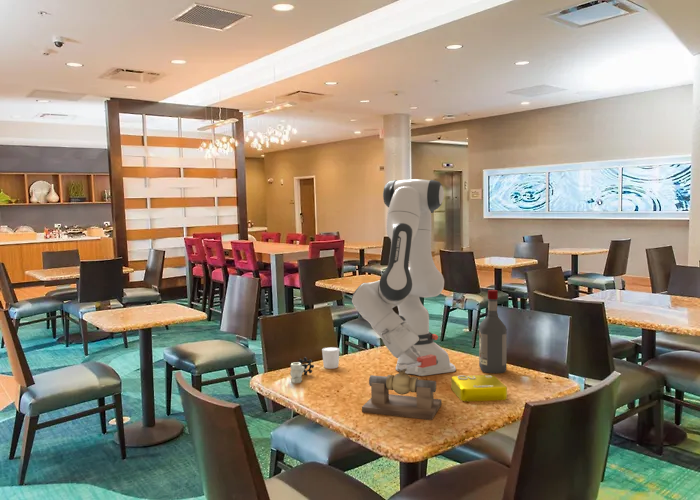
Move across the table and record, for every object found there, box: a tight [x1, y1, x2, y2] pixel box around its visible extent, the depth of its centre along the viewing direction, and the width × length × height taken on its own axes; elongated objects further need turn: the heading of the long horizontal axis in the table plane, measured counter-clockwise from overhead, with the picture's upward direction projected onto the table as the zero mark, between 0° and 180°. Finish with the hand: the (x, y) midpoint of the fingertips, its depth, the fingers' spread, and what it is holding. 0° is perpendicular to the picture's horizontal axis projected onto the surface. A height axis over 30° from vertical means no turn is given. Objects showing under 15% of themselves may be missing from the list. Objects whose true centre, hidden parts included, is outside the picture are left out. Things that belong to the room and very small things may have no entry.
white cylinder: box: [321, 346, 341, 370], centre depth 215 cm, size 7×7×7 cm
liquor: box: [478, 289, 508, 374], centre depth 207 cm, size 9×9×30 cm
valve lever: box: [396, 354, 436, 372], centre depth 170 cm, size 15×3×3 cm, turn 128°
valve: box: [289, 356, 315, 384], centre depth 199 cm, size 7×7×12 cm
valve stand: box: [361, 371, 443, 421], centre depth 167 cm, size 14×21×11 cm, turn 70°
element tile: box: [450, 374, 508, 403], centre depth 180 cm, size 15×15×5 cm
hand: (419, 359), depth 174 cm, fingers closed
